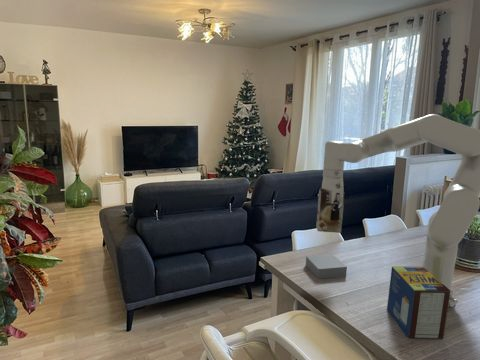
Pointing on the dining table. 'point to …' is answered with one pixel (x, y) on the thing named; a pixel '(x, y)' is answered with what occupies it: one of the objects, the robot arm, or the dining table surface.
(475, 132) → the robot arm
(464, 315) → the dining table surface
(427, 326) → the protein box
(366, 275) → the dining table surface
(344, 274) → the pedestal
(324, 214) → the coffee box
